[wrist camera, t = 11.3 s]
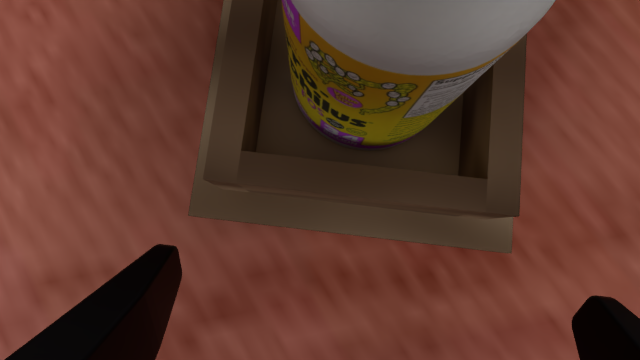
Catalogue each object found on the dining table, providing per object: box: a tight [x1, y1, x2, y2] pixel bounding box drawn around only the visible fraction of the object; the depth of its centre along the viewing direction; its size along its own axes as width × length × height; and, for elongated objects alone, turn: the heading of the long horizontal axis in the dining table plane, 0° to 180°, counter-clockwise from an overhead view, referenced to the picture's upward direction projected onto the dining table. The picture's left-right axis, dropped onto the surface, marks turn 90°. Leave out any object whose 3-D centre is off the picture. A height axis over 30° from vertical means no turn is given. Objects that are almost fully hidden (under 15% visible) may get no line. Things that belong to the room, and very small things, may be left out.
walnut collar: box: [188, 0, 527, 253], centre depth 16 cm, size 14×14×4 cm
